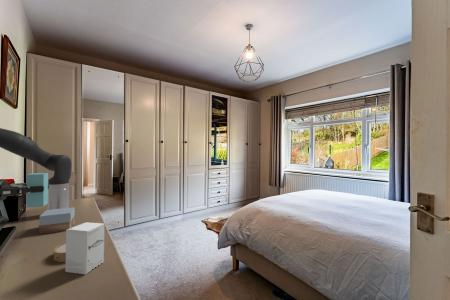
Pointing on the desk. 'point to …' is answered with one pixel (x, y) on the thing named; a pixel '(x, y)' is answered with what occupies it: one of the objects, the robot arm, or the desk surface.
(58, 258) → the alarm clock
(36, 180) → the teal block
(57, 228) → the block
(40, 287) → the desk surface
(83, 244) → the supplement box
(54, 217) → the tower top
